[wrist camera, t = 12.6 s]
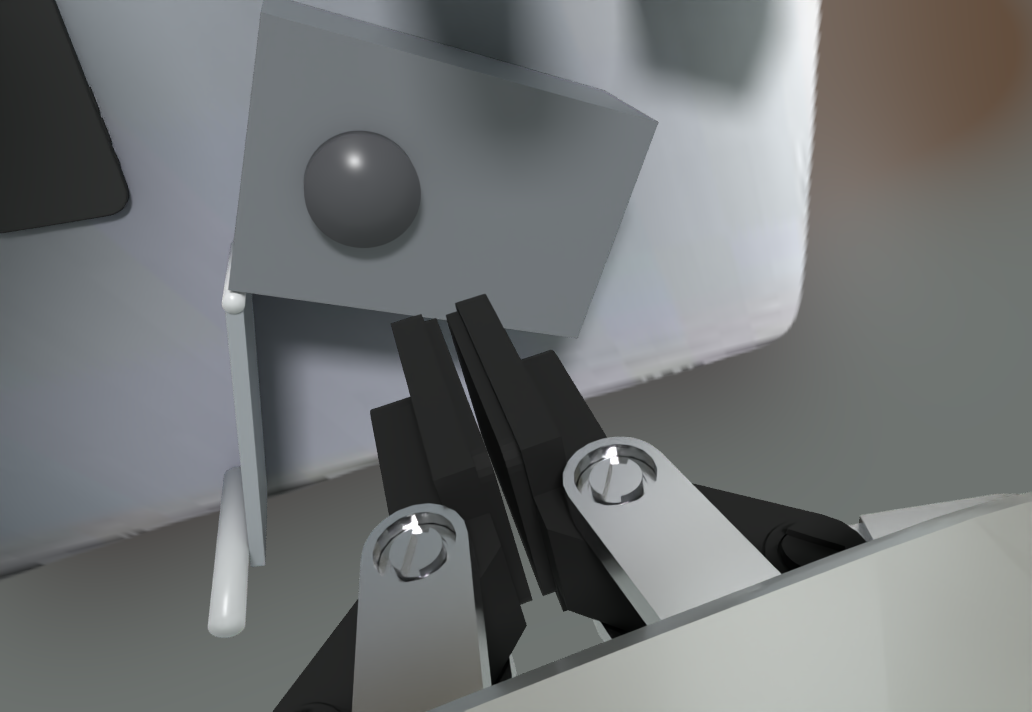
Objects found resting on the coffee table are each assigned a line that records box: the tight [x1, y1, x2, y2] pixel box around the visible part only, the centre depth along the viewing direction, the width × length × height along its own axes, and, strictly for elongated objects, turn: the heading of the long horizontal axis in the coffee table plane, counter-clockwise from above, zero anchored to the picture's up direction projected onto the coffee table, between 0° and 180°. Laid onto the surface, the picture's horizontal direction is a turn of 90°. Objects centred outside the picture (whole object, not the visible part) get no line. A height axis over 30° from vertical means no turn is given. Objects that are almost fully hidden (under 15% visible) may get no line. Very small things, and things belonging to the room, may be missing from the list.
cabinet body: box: [228, 0, 658, 338], centre depth 36 cm, size 18×12×8 cm, turn 73°
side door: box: [208, 241, 267, 638], centre depth 38 cm, size 18×3×12 cm, turn 173°
